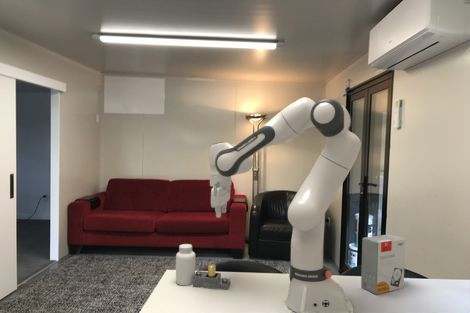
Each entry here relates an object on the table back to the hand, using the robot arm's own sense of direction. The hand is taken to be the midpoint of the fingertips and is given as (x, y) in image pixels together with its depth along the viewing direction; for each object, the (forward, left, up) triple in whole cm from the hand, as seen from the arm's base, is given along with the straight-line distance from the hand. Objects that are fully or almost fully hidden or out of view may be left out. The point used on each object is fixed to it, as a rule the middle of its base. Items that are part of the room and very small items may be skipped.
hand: (221, 214), depth 129 cm
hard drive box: (-64, -6, -28) cm, 70 cm away
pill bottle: (+14, +4, -28) cm, 31 cm away
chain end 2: (+1, +5, -28) cm, 28 cm away
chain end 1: (+5, +5, -28) cm, 28 cm away
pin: (+3, +5, -28) cm, 28 cm away
